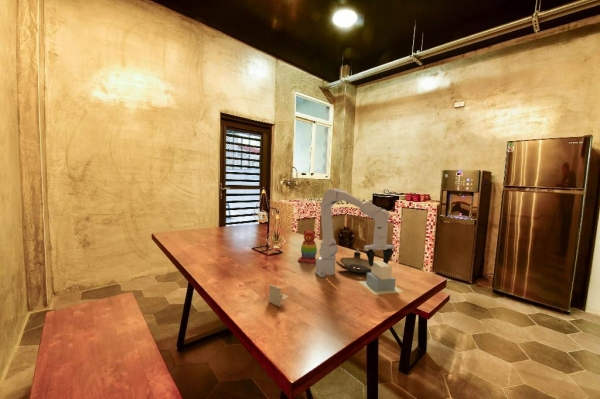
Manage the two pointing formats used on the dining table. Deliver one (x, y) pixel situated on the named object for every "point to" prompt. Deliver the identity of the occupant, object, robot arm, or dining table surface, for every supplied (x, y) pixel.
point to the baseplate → (380, 291)
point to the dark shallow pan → (355, 263)
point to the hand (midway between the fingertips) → (378, 265)
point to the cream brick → (381, 270)
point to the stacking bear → (308, 248)
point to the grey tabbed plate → (276, 295)
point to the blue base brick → (380, 283)
